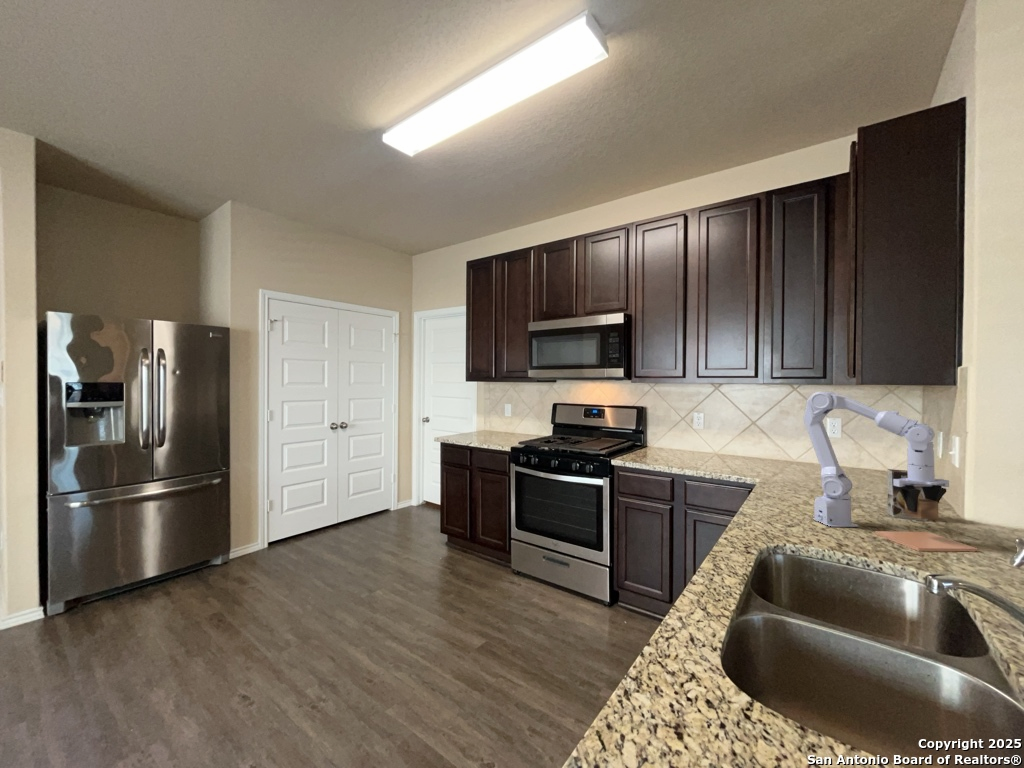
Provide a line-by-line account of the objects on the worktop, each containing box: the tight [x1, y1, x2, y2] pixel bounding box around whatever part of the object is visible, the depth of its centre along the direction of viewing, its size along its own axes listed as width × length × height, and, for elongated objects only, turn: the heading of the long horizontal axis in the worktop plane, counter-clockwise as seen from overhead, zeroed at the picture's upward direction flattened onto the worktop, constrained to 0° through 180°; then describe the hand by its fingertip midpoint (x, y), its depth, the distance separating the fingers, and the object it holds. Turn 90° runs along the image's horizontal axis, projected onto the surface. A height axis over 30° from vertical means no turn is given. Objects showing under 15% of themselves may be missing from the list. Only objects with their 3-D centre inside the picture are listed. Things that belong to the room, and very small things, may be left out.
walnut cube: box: [905, 498, 939, 520], centre depth 123 cm, size 5×5×5 cm
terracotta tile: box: [874, 530, 979, 553], centre depth 121 cm, size 16×14×1 cm
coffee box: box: [886, 468, 928, 522], centre depth 146 cm, size 9×6×16 cm
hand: (921, 511), depth 123 cm, fingers closed on walnut cube, 5 cm apart
